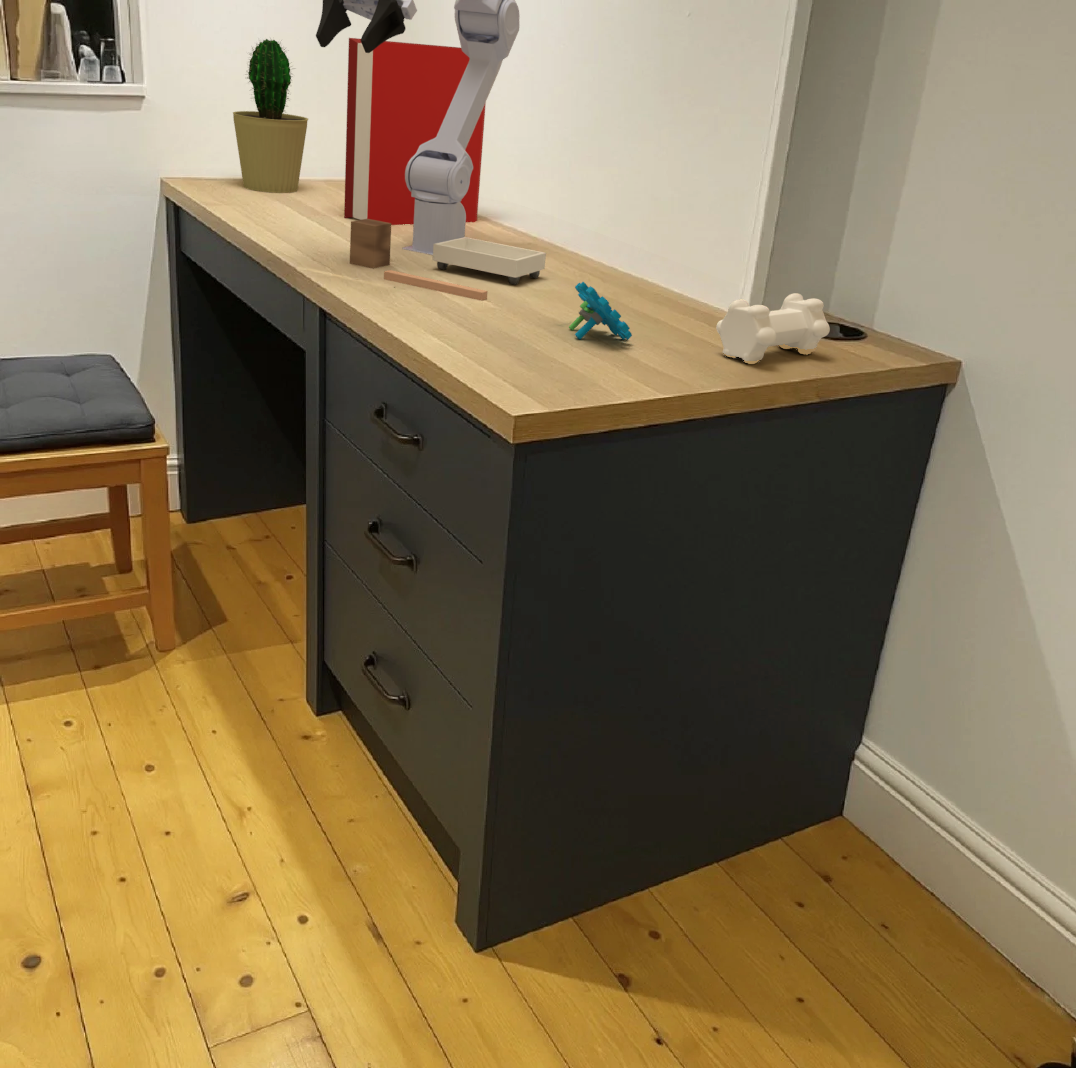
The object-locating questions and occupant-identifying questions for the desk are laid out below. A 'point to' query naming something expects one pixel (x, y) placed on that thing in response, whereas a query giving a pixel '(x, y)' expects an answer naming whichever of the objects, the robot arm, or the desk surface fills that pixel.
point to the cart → (489, 258)
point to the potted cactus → (270, 125)
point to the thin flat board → (435, 285)
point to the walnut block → (370, 243)
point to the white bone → (772, 327)
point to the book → (399, 124)
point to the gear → (597, 314)
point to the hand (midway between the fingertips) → (342, 43)
